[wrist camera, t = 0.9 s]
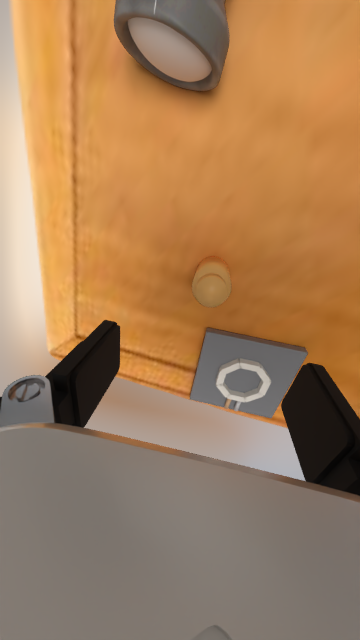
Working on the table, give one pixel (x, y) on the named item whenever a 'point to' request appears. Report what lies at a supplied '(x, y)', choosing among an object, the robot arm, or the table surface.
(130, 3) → the pipe fitting
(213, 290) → the tan wooden peg
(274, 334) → the table surface
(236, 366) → the plate
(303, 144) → the table surface
